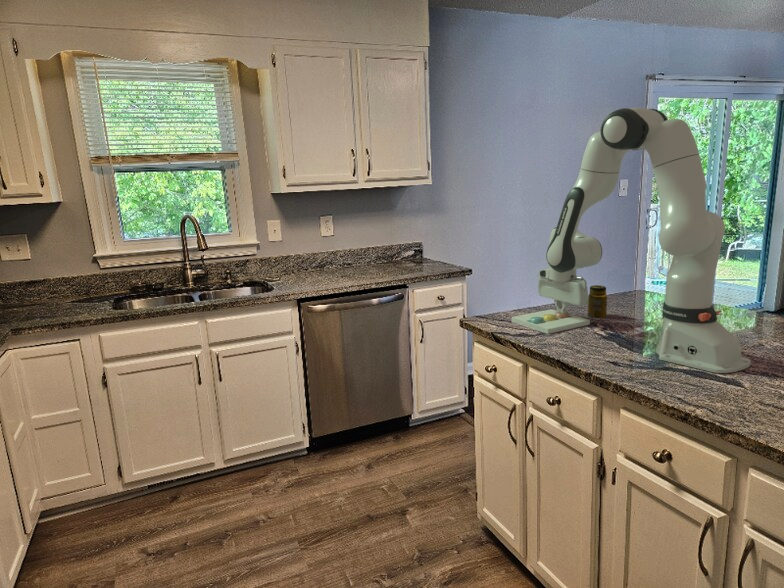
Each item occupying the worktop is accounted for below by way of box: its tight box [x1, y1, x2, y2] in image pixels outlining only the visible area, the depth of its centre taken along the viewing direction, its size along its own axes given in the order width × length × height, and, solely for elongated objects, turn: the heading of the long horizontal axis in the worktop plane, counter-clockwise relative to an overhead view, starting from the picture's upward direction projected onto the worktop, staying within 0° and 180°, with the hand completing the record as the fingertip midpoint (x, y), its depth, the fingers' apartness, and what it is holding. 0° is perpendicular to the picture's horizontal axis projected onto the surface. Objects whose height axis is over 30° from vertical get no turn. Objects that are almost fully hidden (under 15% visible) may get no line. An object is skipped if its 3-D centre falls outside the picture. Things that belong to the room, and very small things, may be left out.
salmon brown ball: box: [556, 312, 569, 319], centre depth 176 cm, size 4×4×4 cm
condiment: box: [587, 285, 608, 319], centre depth 177 cm, size 7×8×12 cm
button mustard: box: [543, 314, 556, 321], centre depth 173 cm, size 4×4×4 cm
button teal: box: [531, 317, 544, 324], centre depth 171 cm, size 4×4×4 cm
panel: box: [511, 308, 591, 335], centre depth 173 cm, size 18×18×3 cm
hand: (561, 313), depth 175 cm, fingers closed, pressing on salmon brown ball
